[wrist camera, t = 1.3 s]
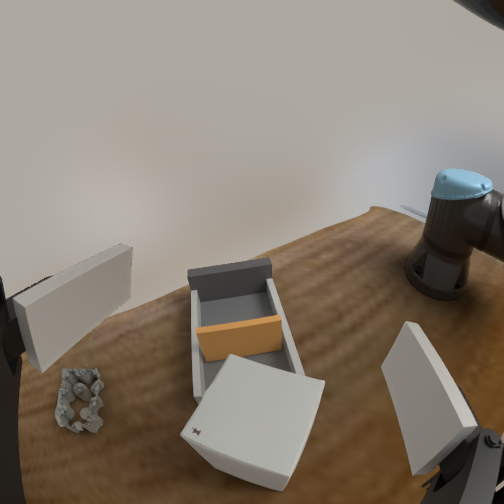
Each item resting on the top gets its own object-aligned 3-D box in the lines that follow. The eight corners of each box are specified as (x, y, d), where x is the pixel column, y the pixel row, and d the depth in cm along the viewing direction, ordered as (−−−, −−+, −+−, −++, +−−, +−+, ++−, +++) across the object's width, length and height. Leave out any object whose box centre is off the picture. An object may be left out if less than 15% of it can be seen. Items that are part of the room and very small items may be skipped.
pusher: (281, 349, 38) (281, 319, 34) (206, 361, 37) (196, 333, 33) (279, 344, 39) (279, 314, 35) (205, 356, 38) (195, 327, 34)
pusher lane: (303, 391, 33) (308, 366, 29) (200, 408, 32) (187, 386, 28) (270, 287, 51) (269, 257, 47) (195, 299, 50) (187, 269, 46)
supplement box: (283, 493, 21) (290, 481, 13) (213, 468, 25) (174, 435, 16) (309, 432, 28) (328, 378, 20) (244, 411, 31) (228, 350, 23)
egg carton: (104, 436, 27) (90, 426, 25) (65, 432, 26) (49, 422, 24) (108, 376, 36) (97, 362, 34) (72, 377, 35) (60, 364, 33)
